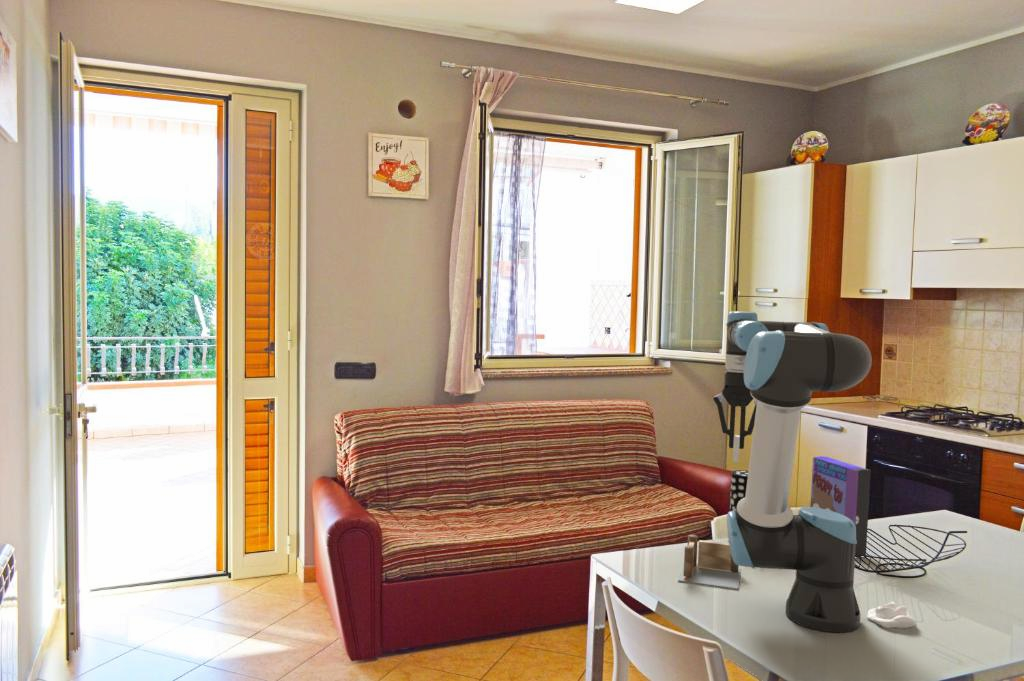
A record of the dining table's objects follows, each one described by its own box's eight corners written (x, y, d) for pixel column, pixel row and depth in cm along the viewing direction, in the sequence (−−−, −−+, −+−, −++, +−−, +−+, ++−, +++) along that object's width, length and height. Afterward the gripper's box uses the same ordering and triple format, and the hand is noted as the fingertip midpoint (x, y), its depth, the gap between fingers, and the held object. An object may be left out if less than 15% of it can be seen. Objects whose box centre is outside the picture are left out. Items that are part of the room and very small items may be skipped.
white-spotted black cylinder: (752, 550, 217) (756, 478, 215) (723, 544, 222) (727, 473, 220) (763, 543, 223) (767, 473, 222) (735, 537, 228) (738, 468, 227)
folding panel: (687, 564, 201) (688, 537, 200) (695, 565, 200) (696, 538, 200) (683, 576, 192) (684, 548, 192) (691, 577, 192) (692, 549, 191)
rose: (910, 615, 164) (861, 603, 170) (909, 636, 164) (860, 623, 171) (922, 602, 172) (875, 590, 178) (921, 622, 172) (874, 609, 178)
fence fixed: (738, 571, 200) (739, 540, 199) (738, 574, 197) (739, 543, 197) (687, 564, 204) (688, 534, 203) (686, 567, 201) (687, 536, 201)
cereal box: (808, 538, 229) (813, 456, 228) (822, 537, 231) (826, 456, 229) (851, 558, 213) (856, 470, 211) (865, 557, 214) (870, 469, 213)
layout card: (740, 570, 200) (740, 568, 200) (738, 590, 187) (738, 588, 187) (684, 563, 205) (684, 561, 205) (678, 581, 191) (678, 579, 191)
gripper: (713, 370, 204) (709, 461, 205) (766, 373, 200) (762, 465, 202) (714, 368, 211) (710, 455, 212) (765, 371, 207) (761, 460, 209)
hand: (735, 460), depth 207 cm, fingers closed
